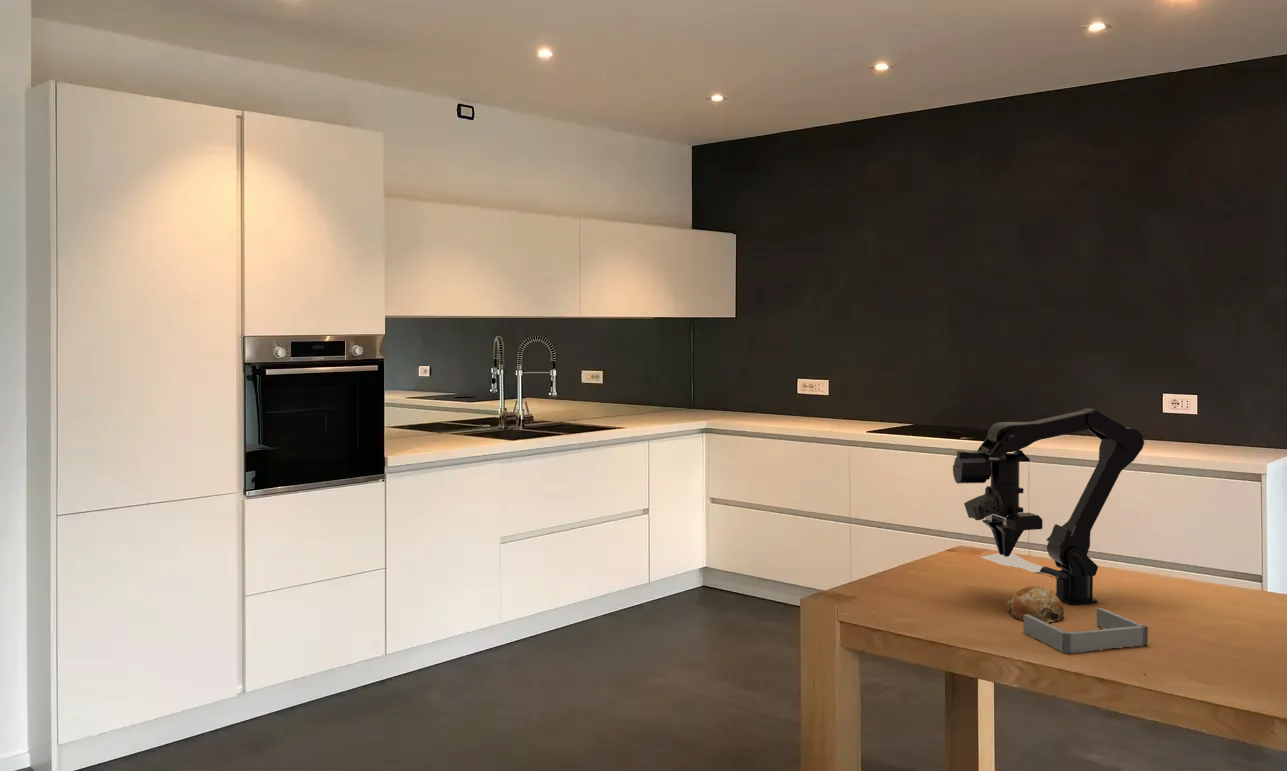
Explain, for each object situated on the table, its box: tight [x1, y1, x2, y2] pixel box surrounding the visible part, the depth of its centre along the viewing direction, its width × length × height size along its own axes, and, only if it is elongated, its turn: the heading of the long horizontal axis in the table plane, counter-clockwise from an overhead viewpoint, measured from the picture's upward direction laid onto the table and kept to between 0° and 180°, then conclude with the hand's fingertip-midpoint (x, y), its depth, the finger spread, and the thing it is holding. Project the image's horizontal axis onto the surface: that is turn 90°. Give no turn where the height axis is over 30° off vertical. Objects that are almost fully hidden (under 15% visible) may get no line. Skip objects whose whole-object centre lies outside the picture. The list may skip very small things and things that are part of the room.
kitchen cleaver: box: [980, 551, 1059, 577], centre depth 244 cm, size 31×2×10 cm
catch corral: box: [1022, 607, 1149, 655], centre depth 192 cm, size 17×13×4 cm
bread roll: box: [1007, 585, 1065, 623], centre depth 206 cm, size 10×10×8 cm
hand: (1004, 555), depth 217 cm, fingers closed
